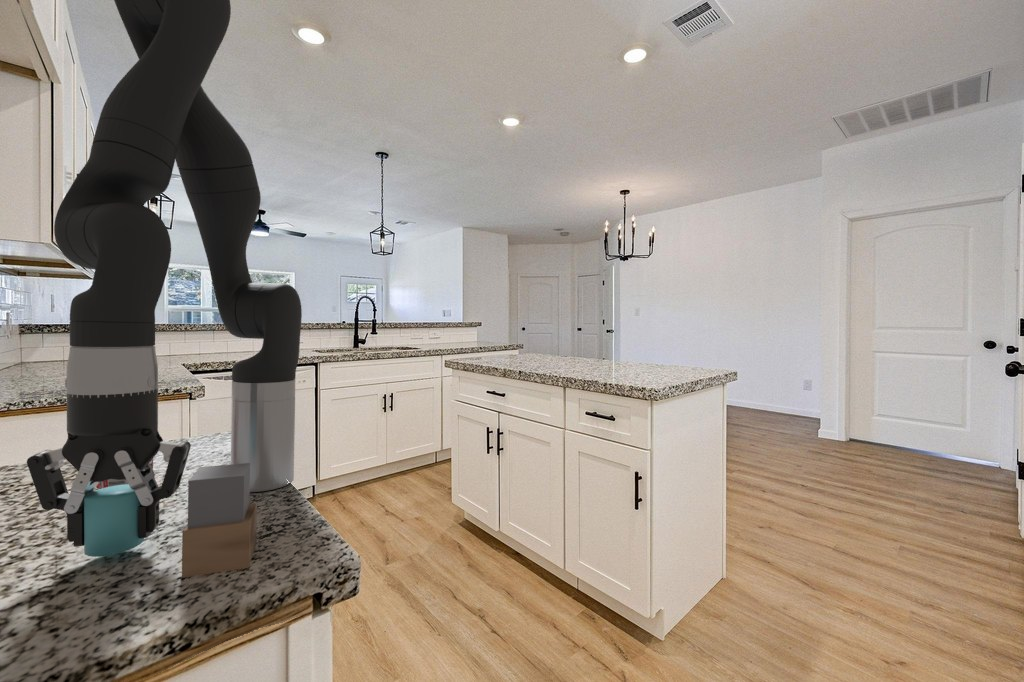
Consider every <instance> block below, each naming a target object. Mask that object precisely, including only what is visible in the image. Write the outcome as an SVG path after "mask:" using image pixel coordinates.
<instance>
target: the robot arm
mask: <svg viewBox="0 0 1024 682" xmlns="http://www.w3.org/2000/svg"><path fill="white" fill-rule="evenodd" d="M113 1H114V3H115V6H116V9H117V12H118V13H119V17H120V18H121V21H122V24H123V26H124V28H125V30H126V33H127V35H128V37H129V40H130V42H131V45H132V47H133V49H134V51H135V53H136V55H137V58H138V60H137V61H136V63H135V64H134V65H133V66H131V68H130V69H129V70H128V71H127V72H126V73H125V74H124V76H122V77H121V79H120V80H119V82H118V83H117V84H116V86H115V87H114V88H113V89H112V91H111V92H110V94H109V95H108V97H107V98H106V100H105V103H104V104H103V106H102V109H101V112H100V116H99V118H98V122H97V126H96V129H95V132H94V133H95V134H94V135H93V136H94V137H93V140H92V143H91V148H90V153H89V157H88V159H87V161H86V163H85V165H84V166H83V167H82V169H81V170H80V171H79V173H78V174H77V176H76V177H75V179H74V180H73V182H72V184H71V185H70V186H69V189H68V191H67V192H66V194H65V196H64V197H63V199H62V201H61V203H60V205H59V207H58V210H57V212H56V215H55V218H54V219H55V220H54V226H53V227H54V228H53V232H54V239H55V242H56V245H57V247H58V249H59V251H60V252H61V253H62V255H63V256H64V257H66V259H67V260H69V261H70V262H71V263H73V264H75V265H77V266H79V267H81V268H85V269H89V270H94V272H93V273H94V274H93V279H92V283H91V286H90V287H89V289H87V290H85V291H82V292H80V293H78V294H77V295H75V296H74V297H73V298H72V300H71V303H70V308H69V312H70V313H69V346H70V347H69V353H68V358H67V362H66V363H67V364H66V377H65V379H64V380H65V382H64V386H65V388H66V389H65V390H66V432H67V439H66V442H65V443H64V445H63V446H62V447H60V448H57V449H53V450H52V449H44V450H42V451H39V452H37V453H35V454H33V455H31V456H30V457H28V458H27V460H26V464H27V465H26V466H27V467H28V470H29V474H30V476H31V480H32V482H33V485H34V488H35V491H36V494H37V497H38V500H39V503H40V506H41V508H42V509H43V510H45V511H51V510H53V509H54V510H60V511H63V512H65V513H66V533H67V534H66V537H67V540H68V543H73V547H74V548H76V547H84V497H85V496H86V494H88V493H90V492H93V491H95V489H96V488H97V487H96V486H97V485H98V483H99V482H102V481H105V480H108V479H116V480H127V482H128V484H129V486H130V488H131V489H133V490H134V491H135V493H136V495H137V497H138V499H139V501H140V503H141V504H142V505H140V506H139V507H138V537H139V539H141V538H144V539H147V538H148V537H149V536H150V535H151V534H152V533H153V532H154V531H155V529H156V528H157V527H158V526H159V524H160V501H161V500H163V499H169V498H170V497H172V496H173V495H174V493H175V492H176V491H177V490H178V489H179V487H180V484H181V481H182V478H183V474H184V472H185V467H186V464H187V461H188V457H189V454H190V450H191V447H192V444H191V442H189V441H187V440H184V441H181V442H172V441H165V440H164V439H163V438H162V436H161V434H160V433H159V364H158V359H157V357H158V356H157V353H156V308H157V304H158V302H159V299H160V297H161V294H162V290H163V287H164V284H165V280H166V276H167V275H168V274H167V273H168V270H169V266H170V262H171V256H172V241H171V238H170V237H171V236H170V234H169V231H168V228H167V226H166V224H165V222H164V221H163V220H162V219H161V217H160V216H159V215H158V214H157V213H156V212H155V211H153V209H151V208H149V207H147V206H145V204H146V203H147V202H148V201H150V200H151V199H153V198H155V197H157V196H160V195H162V194H163V193H164V192H165V191H166V190H167V189H168V187H169V185H170V182H171V178H172V175H173V172H174V171H173V170H174V166H175V162H176V167H177V168H178V172H179V176H180V178H181V181H182V184H183V188H184V191H185V193H186V196H187V199H188V202H189V204H190V207H191V210H192V212H193V215H194V218H195V222H196V225H197V227H198V228H197V229H198V232H199V234H200V237H201V242H202V244H203V248H204V249H203V250H204V252H205V255H206V259H207V264H208V268H209V274H210V278H211V282H212V288H213V293H214V297H215V301H216V304H217V309H218V313H219V316H220V318H221V321H222V324H223V325H224V327H225V329H226V330H227V332H228V333H230V335H232V336H234V337H236V338H241V339H257V340H258V339H261V340H263V341H262V345H261V348H260V350H259V351H258V352H257V353H256V354H254V355H253V356H251V357H248V358H246V359H243V360H240V361H237V362H235V363H234V364H233V366H232V369H231V420H230V421H231V425H230V427H231V430H230V431H231V432H230V436H231V437H230V441H231V442H230V465H231V464H243V463H250V493H256V492H257V493H258V492H265V491H271V490H275V489H277V490H278V489H279V488H283V487H285V486H288V485H290V484H291V483H292V482H293V481H294V480H295V479H294V478H295V441H296V440H295V433H296V431H295V429H296V427H295V426H296V424H295V423H296V422H295V421H296V420H295V419H296V374H297V367H298V363H299V357H300V344H301V343H300V342H301V333H302V332H301V330H302V317H303V316H302V315H303V314H302V312H303V311H302V303H301V299H300V296H299V293H298V291H297V290H296V289H295V288H294V287H293V286H291V285H290V284H287V283H281V282H280V283H278V282H277V283H276V282H271V283H269V282H253V280H252V277H251V275H250V270H249V267H248V262H247V246H248V241H249V239H250V236H251V233H252V231H253V228H254V225H255V223H256V220H257V217H258V213H259V211H260V206H261V191H260V187H259V182H258V179H257V174H256V170H255V167H254V164H253V163H254V162H253V158H252V155H251V153H250V150H249V148H248V146H247V144H246V143H245V142H244V140H243V139H242V137H241V135H240V134H239V133H238V132H237V131H236V129H235V128H234V127H233V126H232V125H231V123H230V122H229V120H227V118H226V117H225V116H224V115H223V114H222V112H221V111H220V110H219V109H218V107H217V106H216V105H215V104H214V102H213V101H212V100H211V99H210V97H209V95H208V94H207V93H206V91H205V89H204V87H203V86H202V83H203V81H204V80H205V77H206V76H207V73H208V71H209V69H210V67H211V65H212V62H213V60H214V58H215V56H216V54H217V53H218V50H219V48H220V46H221V44H222V42H223V40H224V39H225V35H226V33H227V31H228V28H229V25H230V19H231V13H232V12H231V8H232V7H231V0H113ZM158 452H161V453H162V455H163V456H162V457H163V458H162V459H163V461H164V462H166V463H167V467H166V470H165V474H164V477H163V480H162V483H161V485H160V486H159V484H158V482H157V479H156V478H155V477H156V475H155V472H154V468H153V469H152V467H151V465H150V463H149V462H150V461H151V460H152V458H153V459H154V457H156V455H157V454H158ZM64 460H66V461H67V462H68V463H69V464H70V465H72V467H74V469H75V470H77V474H76V477H75V478H74V480H73V483H72V485H71V487H70V493H69V491H68V489H67V483H66V482H65V479H64V475H63V473H62V470H61V468H62V467H63V466H64ZM144 469H145V470H144ZM286 479H287V480H288V481H289V482H290V484H289V483H288V481H287V480H286ZM287 483H288V484H287Z"/></svg>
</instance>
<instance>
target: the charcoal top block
mask: <svg viewBox="0 0 1024 682" xmlns="http://www.w3.org/2000/svg"><path fill="white" fill-rule="evenodd" d="M187 483H188V484H187V486H188V488H187V489H188V490H187V494H188V495H187V523H188V528H196V527H204V526H211V525H219V524H227V523H235V522H243V521H244V518H245V516H246V513H247V510H248V508H249V505H250V503H251V502H250V498H251V497H250V496H251V494H250V493H251V492H250V463H243V464H231V463H230V464H219V465H206V466H199V467H198V468H197V469H196V470H195V472H194V473H193V475H192V476H191V477H190V478H189V480H188V482H187Z"/></svg>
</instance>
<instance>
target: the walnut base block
mask: <svg viewBox="0 0 1024 682" xmlns="http://www.w3.org/2000/svg"><path fill="white" fill-rule="evenodd" d="M257 514H258V502H250V505H249V508H248V510H247V513H246V516H245V518H244V521H243V522H235V523H227V524H219V525H211V526H204V527H196V528H188V522H187V523H186V525H185V527H183V529H182V530H181V531H182V533H181V535H182V536H181V537H182V541H181V542H182V543H181V547H182V548H181V578H183V579H184V578H190V577H197V576H202V575H203V576H204V575H209V574H215V573H222V572H223V573H224V572H227V571H233V570H241V569H247V568H249V567H250V565H251V562H252V558H253V554H254V552H255V549H256V545H257V535H258V534H257V533H258V532H257V530H258V527H257V526H258V522H257V521H258V519H257V518H258V515H257Z"/></svg>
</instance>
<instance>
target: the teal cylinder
mask: <svg viewBox="0 0 1024 682" xmlns="http://www.w3.org/2000/svg"><path fill="white" fill-rule="evenodd" d="M140 505H142V504H141V503H140V501H139V499H138V497H137V495H136V493H135V491H134V490H133V489H131V488H130V486H129V484H124V485H116V486H110V487H106V488H102V489H98V488H97V489H96V490H94V491H93V492H90V493H88V494H86V496H85V497H84V546H83V548H84V549H83V550H84V551H83V553H84V556H88V557H96V558H97V557H98V558H99V557H106V556H112V555H113V556H114V555H116V554H121V553H124V552H127V551H130V550H132V549H134V548H137V547H138V546H140V545H141V544H143V542H144V541H145V538H141V539H139V537H138V507H139V506H140Z"/></svg>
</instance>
